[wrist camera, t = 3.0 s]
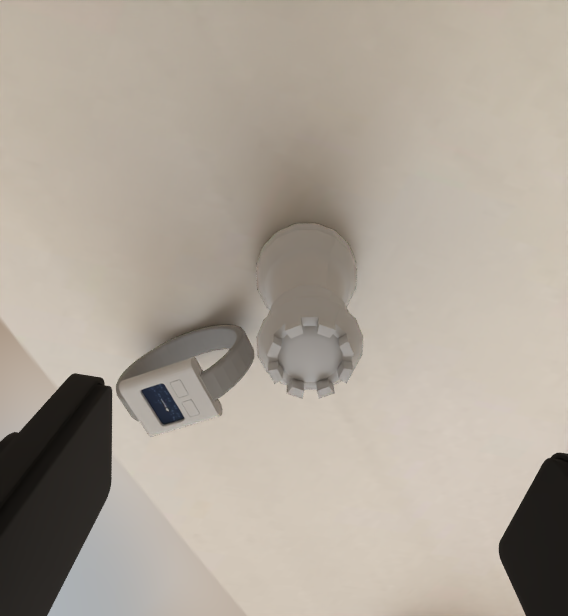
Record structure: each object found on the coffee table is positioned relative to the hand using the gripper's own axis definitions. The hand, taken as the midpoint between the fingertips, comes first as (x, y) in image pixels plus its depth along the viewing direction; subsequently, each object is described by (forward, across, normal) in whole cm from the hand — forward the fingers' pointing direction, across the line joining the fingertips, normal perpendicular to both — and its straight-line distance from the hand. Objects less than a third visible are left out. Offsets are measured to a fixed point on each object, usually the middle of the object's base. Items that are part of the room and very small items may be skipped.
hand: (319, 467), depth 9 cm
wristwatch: (+12, +5, +4) cm, 13 cm away
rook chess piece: (+12, 0, -1) cm, 12 cm away
